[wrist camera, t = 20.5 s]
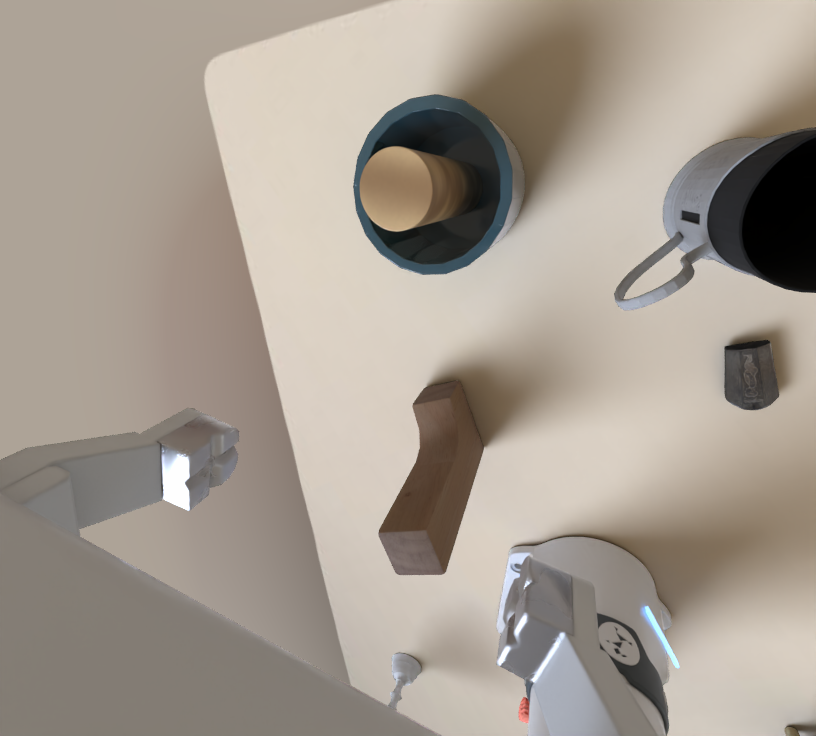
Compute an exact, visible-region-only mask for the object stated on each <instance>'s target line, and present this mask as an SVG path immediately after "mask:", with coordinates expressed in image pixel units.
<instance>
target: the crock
mask: <svg viewBox="0 0 816 736" xmlns="http://www.w3.org/2000/svg"><path fill="white" fill-rule="evenodd" d="M392 146H400V147H405V148H409V149H413V150H417V151H421V152H426V153H430V154H434V155H438V156H442V157H446V158H450V159H454V160H458V161H462V162H466V163H469V164H470V165H472V166H473V167H475V168H476V170H477V171H478V172H479V174H480V176H481V179H482V184H483V191H482V196H481V199H480V201H479V203H478V204H477V205H476V207H475V208H474V209H473V210H471V211H470V212H468V213H466V214H463V215H460V216H456V217H452V218H449V219H445V220H441V221H438V222H434V223H430V224H427V225H423V226H419V227H416V228H412V229H408V230H404V231H390V230H386V229H383V228H382V227H380V226H378V225H377V224H376V223H374V222H373V221H372V220H371V218H370V217H369V216H368V215H367V213H366V211H365V209H364V207H363V204H362V202H361V197H360V179H361V175H362V172H363V169H364V167H365V165H366V164H367V162H368V161H369V159H370V158H371V157H372V156H373V155H374V154H375V153H377V152H378V151H380V150H382V149H384V148H387V147H392ZM353 188H354V196H355V205H356V211H357V214H358V217H359V219H360V222H361V224H362V227H363V229H364V232H365V234H366V236H367V237H368V238H369V240H370V241H371V242H372V244H373V245H374V246H375V247H376V249H377V250H378V251H379V253H380V254H381V255H383V256H384V257H385V258H387V259H388V260H390V261H391V262H392V263H394V264H395V265H397V266H398V267H400V268H402V269H405V270H409V271H412V272H415V273H418V274H422V275H431V274H447V273H450V272H452V271H455V270H458V269H461V268H463V267H466V266H468V265H470V264H471V263H472V262H473V261H475V260H476V259H477V258H478V257H480V256H481V255H482V254H483V253H485V252H486V251H487V250H488V249H490V248H491V247H492V246H493V245H495V244H496V243H497V242H498V241H499V240H501V239H502V238H503V237H504V236H505V234H506V233H507V232H508V231H509V229H510V228H511V226H512V225H513V224H514V222H515V220H516V218H517V216H518V214H519V211H520V209H521V205H522V202H523V198H524V190H525V177H524V169H523V165H522V161H521V158H520V156H519V153H518V151H517V149H516V147H515V146H514V144H513V143H512V141H511V140H510V139H509V138H508V136H507V135H506V133H505V132H504V131H503V130H502V129H501V128H499V127H498V126H497V125H496V124H495V123H494V122H493V121H492V120H491V119H490V118H488V117H487V116H486V115H485V114H483V113H482V112H480V111H479V110H477V109H476V108H474V107H473V106H472V105H470V104H469V103H467V102H466V101H463V100H461V99H457V98H452V97H447V96H443V95H438V94H437V95H436V94H434V95H429V96H423V97H417V98H411V99H409V100H407V101H405V102H404V103H402V104H400V105H398V106H397V107H395V108H393V109H392V110H390V111H388V112H387V113H386V114H385V115H384V116H383V117H382V118H381V120H380V121H379V122H378V123H377V124H376V125H375V126H374V128H373V129H372V130H371V131H370V132H369V134H368V136H367V138H366V140H365V142H364V145H363V147H362V149H361V151H360V154H359V156H358V159H357V165H356V171H355V178H354V186H353Z"/></svg>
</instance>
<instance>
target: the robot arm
mask: <svg viewBox="0 0 816 736" xmlns="http://www.w3.org/2000/svg"><path fill="white" fill-rule="evenodd" d="M238 441H239V431H238V430H237V429H236V428H235V427H233V426H230V425H228V424H226V423H224V422H222V421H220V420H218V419H216V418H213V417H211V416H209V415H206V414H204V413H202V412H200V411H198V410H195V409H193V408H187V409H185V410H183V411H181V412H179V413H178V414H176V415H174V416H172V417H170V418H168V419H166V420H164V421H163V422H161V423H159V424H157V425H155V426H154V427H152V428H150V429H148V430H146V431H144V432H142V433H141V434H138V433H136V432H132V433H125V434H118V435H112V436H104V437H98V438H91V439H84V440H77V441H70V442H64V443H57V444H50V445H44V446H37V447H30V448H25V449H23V450H21V451H19V452H16V453H14V454H12V455H10V456H8V457H5V458H3V459H1V460H0V736H441V735H440V734H438V733H436V732H434V731H432V730H431V729H429V728H427V727H425V726H423V725H421V724H420V723H418V722H416V721H414V720H412V719H410V718H409V717H407V716H405V715H403V714H401V713H400V712H398V711H396V710H394V709H392V708H390V707H389V706H387V705H385V704H383V703H381V702H380V701H378V700H376V699H374V698H372V697H370V696H369V695H367V694H365V693H363V692H361V691H360V690H358V689H356V688H354V687H352V686H350V685H348V684H347V683H345V682H343V681H341V680H340V679H338V678H336V677H334V676H332V675H330V674H329V673H327V672H325V671H323V670H321V669H319V668H317V667H316V666H314V665H312V664H310V663H309V662H307V661H305V660H303V659H301V658H299V657H297V656H296V655H294V654H292V653H290V652H289V651H287V650H285V649H283V648H281V647H279V646H278V645H276V644H274V643H272V642H270V641H269V640H267V639H265V638H263V637H261V636H259V635H257V634H256V633H254V632H252V631H250V630H248V629H246V628H245V627H243V626H241V625H239V624H238V623H236V622H234V621H232V620H230V619H229V618H226V617H225V616H223V615H221V614H219V613H218V612H216V611H214V610H212V609H210V608H209V607H207V606H205V605H203V604H201V603H199V602H198V601H196V600H194V599H192V598H190V597H188V596H187V595H185V594H183V593H181V592H180V591H178V590H176V589H174V588H172V587H170V586H168V585H167V584H165V583H163V582H161V581H160V580H158V579H156V578H154V577H152V576H151V575H148V574H147V573H145V572H143V571H141V570H140V569H138V568H136V567H134V566H132V565H130V564H129V563H126V562H125V561H123V560H121V559H120V558H118V557H116V556H114V555H112V554H111V553H109V552H107V551H105V550H103V549H101V548H100V547H97V546H96V545H94V544H92V543H90V542H89V541H87V540H85V539H83V538H81V537H80V532H79V529H81V528H84V527H87V526H90V525H93V524H96V523H99V522H102V521H104V520H107V519H110V518H113V517H116V516H119V515H121V514H124V513H127V512H130V511H133V510H136V509H139V508H141V507H144V506H147V505H150V504H153V503H156V502H159V501H161V500H162V499H164V500H166V501H169V502H171V503H173V504H175V505H177V506H179V507H182V508H184V509H186V510H188V511H190V510H191V509H192V508H194V507H195V506H196V505H197V504H198V503H200V502H201V501H202V500H203V499H205V498H206V497H207V496H208V495H209V490H210V488H211V487H215V486H219V485H221V484H223V483H224V482H225V481H226V480H227V479H228V478H229V477H230V475H231V474H232V472H233V471H234V469H235V467H236V464H237V460H238V453H237V451H236V449H235V447H234V445H235V444H236V443H237V442H238ZM517 563H518V564H517ZM671 625H672V621H671V614H670V612H669V611H668V609H667V608H666V607H665V605H664V604H663V603H662V602H661V601H660V600H659V598H658V596H657V592H656V588H655V584H654V581H653V578H652V576H651V574H650V573H649V571H648V570H647V569H646V567H645V566H644V565H643V564H642V563H641V562H640V561H639V560H638V559H637V558H636V557H634V556H633V555H632V554H630V553H629V552H627V551H625V550H624V549H622V548H620V547H618V546H616V545H613V544H611V543H608V542H605V541H602V540H598V539H593V538H587V537H564V538H558V539H554V540H551V541H548V542H545V543H543V544H540V545H536V546H517V547H513V548H512V549H511V550H510V551H509V556H508V562H507V567H506V573H505V578H504V584H503V589H502V595H501V601H500V606H499V612H498V617H497V631H498V632H499V633H500V634H501V636H500V641H499V648H498V656H497V665H499V666H500V667H502V668H504V669H506V670H508V671H510V672H512V673H514V674H515V675H517V676H519V677H521V678H523V679H524V680H525V686H526V692H527V697H528V699H527V698H526V697H524V698H523V699H522V701H521V704H520V707H519V720H521V721H523V722H525V723H528V736H667V733H668V729H669V721H668V706H667V700H666V696H665V692H664V691H663V685H664V684H665V683H667V682H668V681H669V666H668V658H667V652H668V654H669V655H670V657H671V659H672V661H673V663H674V665H675V667H676V668H679V664H678V661H677V659H676V657H675V655H674V653H673V652H672V650H671V648H670V646H669V644H668V642H667V640H666V639H665V634H664V631H665V630H667V629H668V628H670V627H671Z"/></svg>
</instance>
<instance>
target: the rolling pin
mask: <svg viewBox="0 0 816 736" xmlns="http://www.w3.org/2000/svg"><path fill="white" fill-rule="evenodd" d="M482 191H483V184H482V179H481V176H480V174H479V172H478V171H477V170H476V168H475V167H473V166H472V165H470V164H469V163H466V162H462V161H458V160H454V159H450V158H446V157H442V156H438V155H434V154H430V153H426V152H421V151H417V150H413V149H409V148H405V147H400V146H392V147H387V148H384V149H382V150H380V151H378V152H377V153H375V154H374V155H373V156H372V157H371V158H370V159H369V161H368V162H367V164H366V165H365V167H364V169H363V172H362V175H361V179H360V197H361V202H362V204H363V207H364V209H365V211H366V213H367V215H368V216H369V217H370V218H371V220H372V221H373V222H374V223H376V224H377V225H378V226H380V227H382V228H383V229H386V230H390V231H404V230H408V229H412V228H416V227H419V226H423V225H427V224H430V223H434V222H438V221H441V220H445V219H449V218H452V217H456V216H460V215H463V214H466V213H468V212H470V211H471V210H473V209H474V208H475V207H476V205H477V204H478V203H479V201H480V199H481V196H482Z"/></svg>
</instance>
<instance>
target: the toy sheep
mask: <svg viewBox="0 0 816 736" xmlns="http://www.w3.org/2000/svg"><path fill="white" fill-rule="evenodd" d="M785 734H786V736H800V735H799V733H798V731H797V730H796V729H795V728H793V727H786V728H785Z"/></svg>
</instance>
